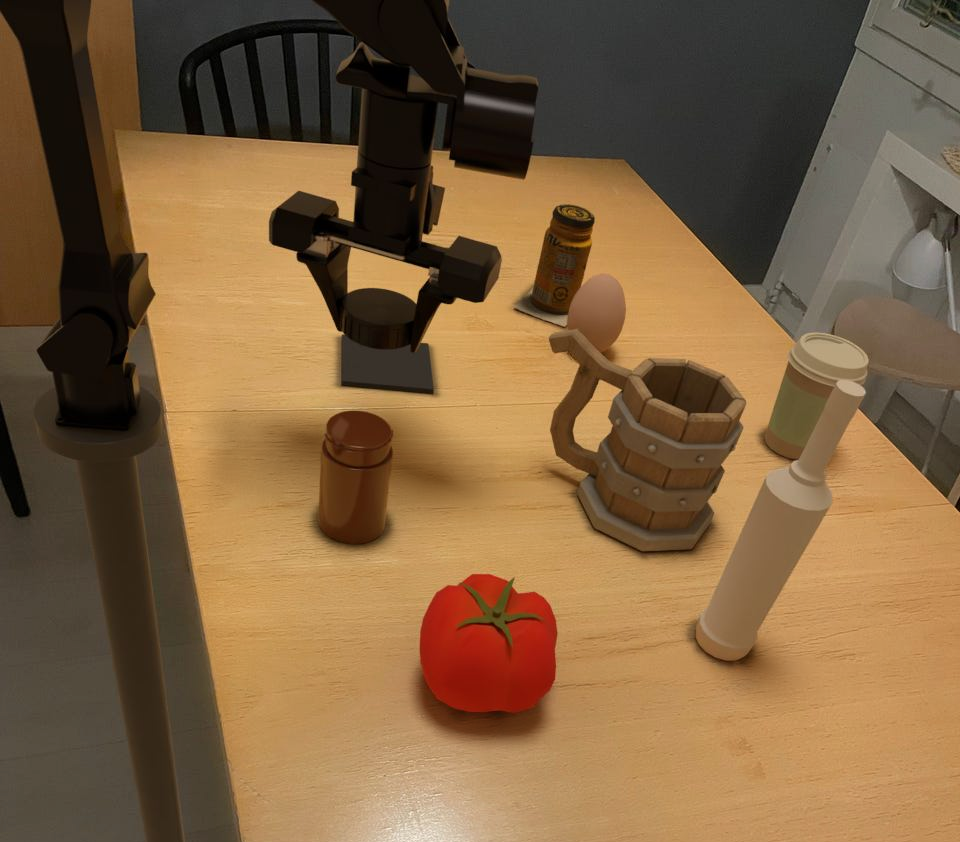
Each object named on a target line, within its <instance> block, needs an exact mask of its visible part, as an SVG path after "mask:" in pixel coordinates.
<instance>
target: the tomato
mask: <svg viewBox="0 0 960 842" xmlns="http://www.w3.org/2000/svg"><path fill="white" fill-rule="evenodd" d="M514 582H515V576H514V577H512V578H511V579H510V580H507V579H505V578H502V577H499V576H496V575H494V574H491V573H472V574H470V575H468V576H467V577H466V578H465V579H463V580H462V581H461V582H459V581H458V584H457V585H452V584H447V585H446V586H444V587H442V588H441V589H439V590H438V591H436V592H435V593H434V595H433V597H432V599H431V601H430V602H429V604H428V607H427V609H426V611H425V612H424V615H423V617H422V622H421V626H420V631H419V660H420V666H421V670H422V674H423V678H424V680H425V682H426V685H427V686H428V688H429V689H430V691H431V692H432V694H433V695H434V697H435V699H436V700H439V701H440V702H442V703H444V704H446V705H447V706H449V707H451V708H452V709H454V710H460V711H464V712H468V713H488V712H494V711H502V712H507V713H518V712H519V713H520V712H522V711H526V710H529V709H532V708H533V707H534V706H535V705H536V704H537V703H538V702H539V701H541V700H542V699H543V697H545V696H546V695H547V694H548V693H549V692H550V691H551V689H552V687H553V685H554V683H555V681H556V674H557V673H556V672H557V660H556V647H557V639H558V626H557V619H556V617H555V614H554V611H553V608H552V605H551V604H550V603H549V602H548V600H547V599H546V598H545V597H544V596H543V595H541V594H539V593H538V592H536V591H528V592H519V593H518V592H517V590H516V589H515V588H514V587H513V584H514Z"/></svg>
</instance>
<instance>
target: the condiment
mask: <svg viewBox="0 0 960 842" xmlns="http://www.w3.org/2000/svg"><path fill="white" fill-rule="evenodd" d="M595 218H596V217H595V215H594V214H593V213H592V212H591V211H590V210H589V209H587V208H585V207H582V206H579V205H576V204H572V203H571V204H568V203H567V204H565V203H563V204H559V205H556V206H555V208H554V209H553V210H552V217H551V219H550V222H549V227H547V228H546V229H545V232H544V236H543V241H542V246H541V251H540V256H539V260H538V263H537V269H536V273H535V278H534V282H533V285H532V288H531V289H530V290H529V291H528V292H527V293H526V294H525V295H524V296H522V297H521V299H520V300H518V302H517V303H515V304H514V305H513V306H512V308H514V309H517V310H519V311H520V312H523V313H525V314H528V315H531V316H532V317H535V318H538V319H541V320H542V321H547V322H550V323H553V324H555V325H558V326H561V327H564V328H566V326H567V317H568V312H569V309H570V305H571V302H572V300H573V298H574V296H575V294H576V293H577V291H578V290H579V289H580V287H581V286H582V285H583V281H584V278H585V272H586V269H587V264H588V260H589V256H590V253H591V249H592V246H593V239H592V234H593V232H594V230H593V229H594V224H595V223H596V222H595V221H596V219H595Z"/></svg>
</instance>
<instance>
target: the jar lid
mask: <svg viewBox="0 0 960 842" xmlns="http://www.w3.org/2000/svg"><path fill="white" fill-rule="evenodd" d="M416 304H417V302H415V301H414V299H412V298H410V297H408V296H407V295H405V294H402V293H400V292H398V291H395V290H391V289H387V288H381V287H363V288H357V289H354V290H351V291H348V293H347V294H346V295H345V296H344V297H343V299H342V306H341V311H340V324H341V326H340V329H341V330H342V332H341V333H342V334H343V335H345V336H346V337H347V338H349V339H350V340H352V341H353V342H355V343H358V344H360V345H363V346H366V347H370V348H374V349H384V350H391V349H399V348H403V347H406V346H408V345H410V339H411V333H412V327H413V322H414V316H415V310H416Z"/></svg>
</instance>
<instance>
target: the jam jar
mask: <svg viewBox="0 0 960 842" xmlns="http://www.w3.org/2000/svg"><path fill="white" fill-rule="evenodd" d="M393 438H394V430H393V429H392V427H391V426H390V423H388V421H386V420H385V419H384V418H383V417H381V416H379V415H377V414H375V413H372V412H368V411H363V410H344V411H341V412H338V413H336V414H334V415H331V417H329V419H328V420H327V422H326V425H325V433H324V439H323V441H322V443H321V448H320V449H321V450H320V468H319V469H320V470H319V487H318V488H319V489H318V490H319V491H318V512H317V523H318V526H319V529H320V530H321V531H322V533H324V534H325V535H326V536H327V537H329V538H330V539H331V540H334V541H337V542H339V543H343V544H350V545H362V544H366V543H367V544H368V543H370V542H372V541H375V540H376V539H378V538H379V537H380V536H381V535H382V534H383V532H384V531H385V527H386V520H387V510H388V502H389V494H390V485H391V475H392V469H393V468H392V467H393V466H392V465H393V458H394V450H393V447H392V440H393Z"/></svg>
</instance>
